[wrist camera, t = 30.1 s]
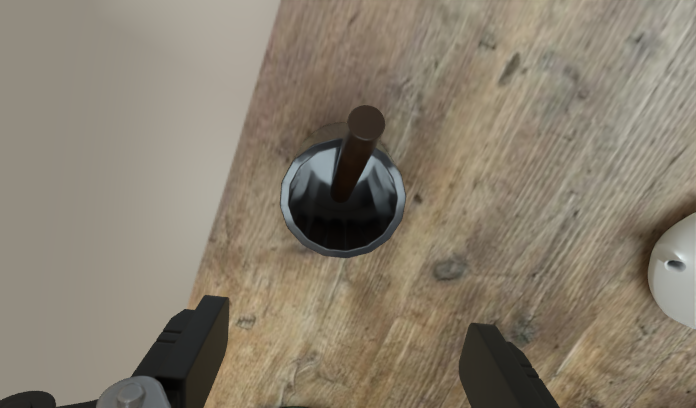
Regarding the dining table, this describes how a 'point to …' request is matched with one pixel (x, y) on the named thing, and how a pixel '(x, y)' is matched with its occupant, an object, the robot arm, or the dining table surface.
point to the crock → (340, 218)
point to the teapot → (675, 272)
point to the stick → (356, 150)
